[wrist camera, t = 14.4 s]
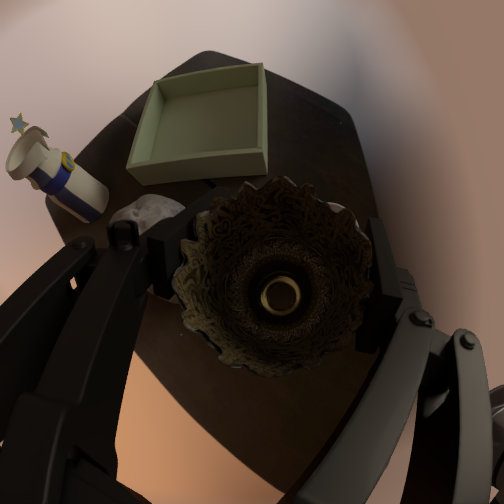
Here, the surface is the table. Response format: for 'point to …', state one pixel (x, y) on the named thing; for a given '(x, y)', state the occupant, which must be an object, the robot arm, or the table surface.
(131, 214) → the decorative stone
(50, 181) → the white blue vase
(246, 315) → the dark brown hollow vessel
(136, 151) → the bin
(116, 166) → the table surface
